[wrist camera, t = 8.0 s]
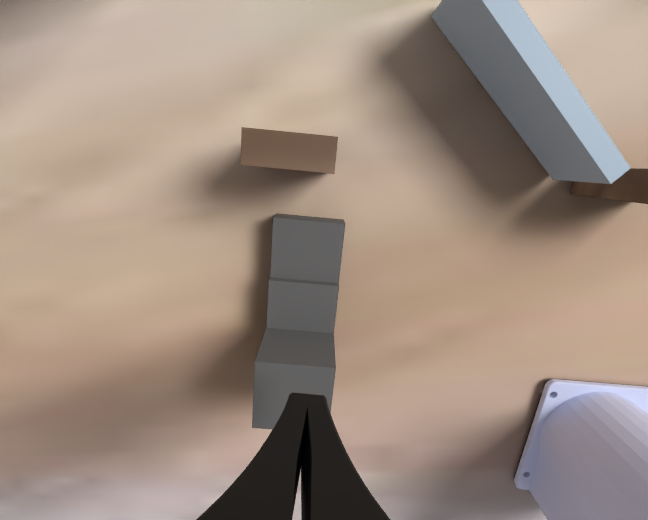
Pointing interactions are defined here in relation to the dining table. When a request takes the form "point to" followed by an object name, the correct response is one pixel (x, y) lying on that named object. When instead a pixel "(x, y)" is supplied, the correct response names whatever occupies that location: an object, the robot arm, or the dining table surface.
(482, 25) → the door leaf
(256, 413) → the notched block
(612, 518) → the robot arm
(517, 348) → the dining table surface
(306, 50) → the dining table surface
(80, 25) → the dining table surface
